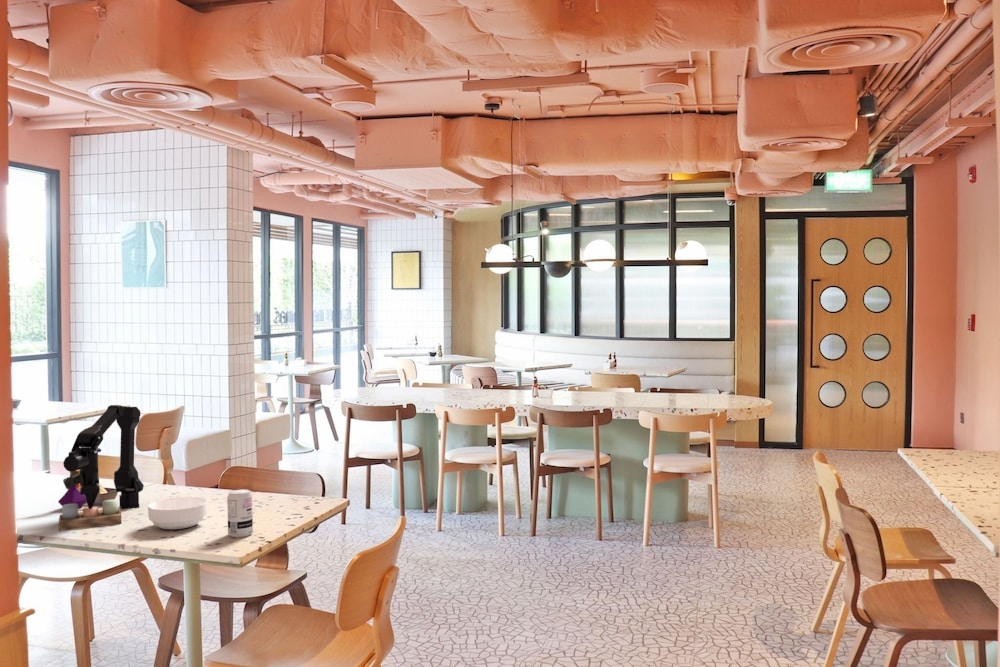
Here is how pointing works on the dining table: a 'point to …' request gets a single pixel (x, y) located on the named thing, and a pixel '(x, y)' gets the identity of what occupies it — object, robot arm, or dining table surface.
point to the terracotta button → (90, 512)
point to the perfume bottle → (73, 495)
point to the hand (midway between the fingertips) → (90, 508)
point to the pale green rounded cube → (110, 507)
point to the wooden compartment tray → (89, 521)
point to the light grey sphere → (70, 511)
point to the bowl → (177, 512)
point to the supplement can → (240, 513)
